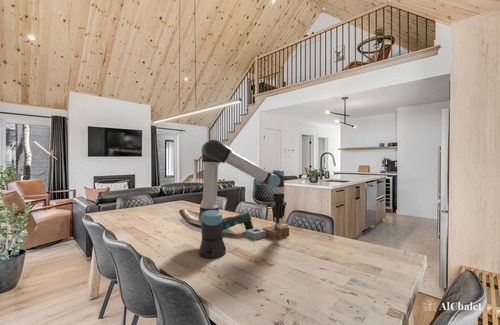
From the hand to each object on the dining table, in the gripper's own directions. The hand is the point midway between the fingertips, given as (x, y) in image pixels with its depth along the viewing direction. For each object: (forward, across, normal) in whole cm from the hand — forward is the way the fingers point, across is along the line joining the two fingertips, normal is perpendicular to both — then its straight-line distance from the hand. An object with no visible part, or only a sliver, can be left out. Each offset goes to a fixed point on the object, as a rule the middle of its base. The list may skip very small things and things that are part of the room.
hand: (279, 227), depth 163 cm
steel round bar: (+6, +4, +5) cm, 9 cm away
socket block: (+6, +2, +5) cm, 8 cm away
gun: (+7, -17, +31) cm, 36 cm away
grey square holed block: (+6, -10, +12) cm, 17 cm away
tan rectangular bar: (+1, +4, 0) cm, 4 cm away
